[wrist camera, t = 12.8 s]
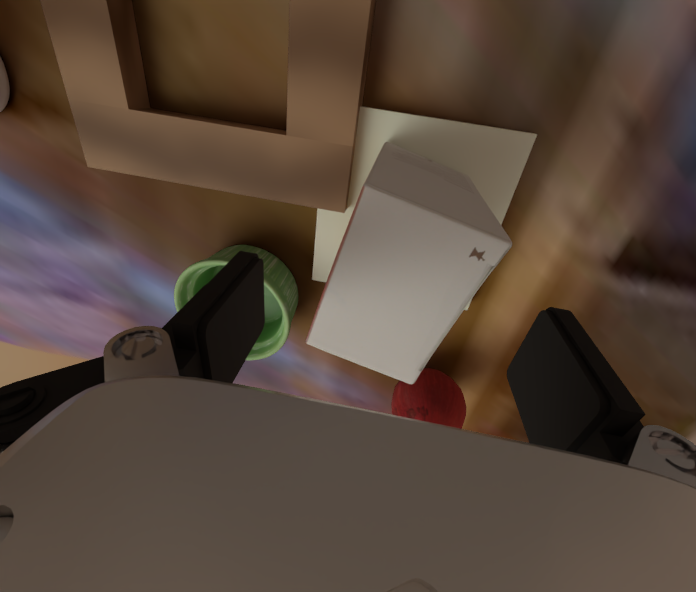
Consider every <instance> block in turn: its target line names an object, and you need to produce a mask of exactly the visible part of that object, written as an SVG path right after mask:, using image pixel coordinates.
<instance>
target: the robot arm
mask: <svg viewBox="0 0 696 592" xmlns="http://www.w3.org/2000/svg"><path fill="white" fill-rule="evenodd" d="M264 323H265V306H264V264H263V259H260V258H259V257H258V254H256V253H251V252H245V251H239V252H238V253H237V254H236V255H235V256H234V257H233V258H232V259H231V260H230V261H229V262H228V263H227V264H226V265H225V266H224V267H223V268H222V269H221V270H220V271H219V272H218V273H217V274H216V275H215V276H214V277H213V278H212V279H211V280H210V281H209V282H208V283H207V284H206V285H204V286H203V287H202V288H201V289H200V290H199V291H198V292H197V293H196V294H195V295H194V296H193V297H192V298H191V299H190V300H189V301H188V302H187V303H186V304H185V305H184V306H183V307H182V308H181V309H180V310H179V311H178V312H177V313H176V315H175V316H174V317H173V318H172V319H171V320H170V321H169V322H168V323H167V324H166V325H165V326H164V327H163V328H158V327H155V326H141V327H134V328H131V329H128V330H125V331H123V332H121V333H119V334H117V335H116V336H114V337H113V338H112V339H110V340H109V342H108V343H107V344H106V346H105V348H104V356H102V357H99V358H96V359H92V360H89V361H85V362H82V363H79V364H75V365H72V366H68V367H65V368H62V369H58V370H55V371H51V372H48V373H45V374H41V375H38V376H34V377H31V378H28V379H24V380H21V381H17V382H14V383H12V384H9V385H6V386H3V387H1V388H0V592H696V445H694V444H693V443H692V442H690V441H689V440H687V439H686V438H684V437H683V436H682V435H680V434H678V433H676V432H674V431H672V430H670V429H667V428H664V427H661V426H655V425H648V426H643V425H642V423H641V422H640V421H639V420H640V419H641V418H642V417H643V416H644V415H645V413H644V412H643V410H642V409H641V407H640V406H639V405H638V403H637V402H636V401H635V399H634V398H633V396H632V395H631V394H630V392H629V391H628V390H627V388H626V387H625V385H624V384H623V383H622V381H621V380H620V378H619V377H618V376H617V374H616V373H615V372H614V370H613V369H612V367H611V366H610V365H609V363H608V362H607V361H606V359H605V358H604V356H603V355H602V354H601V352H600V351H599V349H598V348H597V347H596V345H595V344H594V343H593V341H592V340H591V338H590V337H589V336H588V334H587V333H586V331H585V330H584V329H583V327H582V326H581V325H580V323H579V322H578V320H577V319H576V318H575V316H574V315H573V314H572V312H571V311H569V310H564V309H558V308H553V307H550V308H548V309H546V310H543V311H541V312H540V313H539V314H538V316H537V318H536V320H535V321H534V323H533V325H532V327H531V328H530V330H529V332H528V334H527V335H526V337H525V339H524V341H523V343H522V344H521V346H520V348H519V350H518V351H517V353H516V355H515V357H514V358H513V360H512V362H511V364H510V365H509V367H508V370H507V379H508V382H509V384H510V387H511V390H512V393H513V396H514V399H515V402H516V405H517V408H518V410H519V413H520V416H521V419H522V422H523V425H524V428H525V431H526V434H527V436H528V439H529V442H530V443H526V442H522V441H517V440H512V439H507V438H503V437H498V436H493V435H488V434H483V433H479V432H474V431H469V430H464V429H460V428H455V427H450V426H445V425H440V424H435V423H430V422H425V421H421V420H416V419H411V418H406V417H401V416H396V415H391V414H386V413H381V412H376V411H371V410H366V409H362V408H357V407H352V406H346V405H341V404H336V403H331V402H326V401H321V400H316V399H311V398H306V397H301V396H296V395H291V394H286V393H281V392H276V391H271V390H265V389H260V388H255V387H250V386H245V385H239V384H233V381H234V379H235V377H236V376H237V374H238V372H239V370H240V369H241V367H242V365H243V363H244V362H245V360H246V358H247V356H248V355H249V353H250V351H251V349H252V348H253V346H254V344H255V343H256V341H257V339H258V337H259V336H260V334H261V332H262V330H263V328H264Z"/></svg>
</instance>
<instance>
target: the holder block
mask: <svg viewBox="0 0 696 592" xmlns="http://www.w3.org/2000/svg"><path fill="white" fill-rule="evenodd" d="M40 2H41V6H42V9H43V13H44V16H45V20H46V23H47V27H48V30H49V33H50V37H51V40H52V44H53V47H54V51H55V54H56V58H57V61H58V65H59V68H60V72H61V75H62V79H63V82H64V86H65V89H66V93H67V96H68V100H69V103H70V107H71V110H72V114H73V117H74V121H75V124H76V128H77V131H78V135H79V138H80V142H81V145H82V149H83V152H84V156H85V159H86V163H87V166H88V167H92V168H97V169H103V170H108V171H114V172H119V173H125V174H131V175H136V176H142V177H147V178H153V179H158V180H164V181H169V182H175V183H180V184H186V185H191V186H197V187H202V188H208V189H213V190H219V191H225V192H230V193H236V194H241V195H247V196H252V197H258V198H263V199H269V200H274V201H280V202H285V203H291V204H296V205H302V206H308V207H313V208H319V209H324V210H330V211H335V212H341V213H345V211H346V209H347V204H348V197H349V189H350V181H351V173H352V165H353V158H354V150H355V142H356V134H357V127H358V119H359V111H360V107H361V106H362V104H363V97H364V89H365V82H366V74H367V66H368V59H369V51H370V44H371V36H372V28H373V21H374V13H375V6H376V0H290V5H289V47H288V88H287V130H280V129H274V128H268V127H262V126H256V125H250V124H244V123H237V122H231V121H225V120H219V119H213V118H207V117H201V116H195V115H189V114H183V113H177V112H171V111H165V110H159V109H153V108H150V103H149V97H148V91H147V86H146V80H145V74H144V68H143V62H142V57H141V51H140V45H139V39H138V33H137V28H136V22H135V16H134V10H133V4H132V0H40Z"/></svg>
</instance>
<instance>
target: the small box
mask: <svg viewBox="0 0 696 592" xmlns="http://www.w3.org/2000/svg"><path fill="white" fill-rule="evenodd" d="M511 246H512V242H511V240H510V238H509V236H508V235H507V233H506V232H505V230H504V229H503V227H502V226H501V224H500V223H499V221H498V220H497V218H496V217H495V215H494V214H493V212H492V211H491V210H490V208H489V207H488V205H487V203H486V202H485V201H484V199H483V198H482V196H481V195H480V193H479V191H478V190H477V188H476V187H475V185H474V184H473V182H472V181H471V179H470V177H469V176H467V175H465V174H462V173H460V172H457V171H455V170H453V169H450V168H448V167H446V166H443V165H441V164H439V163H436V162H434V161H432V160H429V159H427V158H425V157H422V156H420V155H418V154H415V153H413V152H410V151H408V150H406V149H403V148H401V147H399V146H396V145H394V144H391V143H389V142H385V143H384V145H383V147H382V149H381V151H380V153H379V155H378V157H377V159H376V161H375V163H374V165H373V167H372V169H371V171H370V173H369V175H368V177H367V179H366V181H365V183H364V184H363V187H362V189H361V192H360V195H359V197H358V200H357V202H356V205H355V208H354V210H353V213H352V216H351V218H350V221H349V223H348V226H347V229H346V231H345V234H344V236H343V239H342V241H341V244H340V247H339V249H338V252H337V254H336V257H335V260H334V263H333V265H332V268H331V271H330V273H329V276H328V279H327V282H326V284H325V287H324V290H323V293H322V296H321V298H320V301H319V304H318V307H317V310H316V313H315V316H314V318H313V321H312V324H311V327H310V330H309V333H308V335H307V338H306V341H305V342H306V343H307V344H309V345H311V346H314V347H316V348H318V349H321V350H323V351H326V352H328V353H331V354H333V355H336V356H339V357H341V358H344V359H346V360H349V361H351V362H354V363H356V364H359V365H362V366H364V367H367V368H369V369H372V370H374V371H377V372H380V373H382V374H385V375H387V376H390V377H393V378H395V379H398V380H400V381H403V382H405V383H408V384H414V383H415V382H416V380H417V378H418V377H419V375H420V373H421V372H422V370H423V368H424V367H425V365H426V364H427V362H428V361H429V359H430V358H431V356H432V355H433V353H434V352H435V350H436V349H437V348H438V346H439V345H440V343H441V342H442V340H443V339H444V337H445V336H446V335H447V333H448V332H449V330H450V329H451V327H452V326H453V324H454V323H455V322H456V320H457V319H458V317H459V316H460V314H461V313H462V312H463V310H464V309H465V307H466V306H467V305H468V303H469V302H470V300H471V299H472V298H473V296H474V295H475V293H476V292H477V291H478V289H479V288H480V286H481V285H482V284H483V282H484V281H485V280H486V278H487V277H488V276H489V274H490V273H491V272H492V270H493V269H494V268H495V267H496V266H497V265H498V263H499V262H500V261H501V259H502V258H503V257H504V255H505V254H506V253H507V252H508V250H509V249H510V248H511Z"/></svg>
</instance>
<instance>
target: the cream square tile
mask: <svg viewBox="0 0 696 592" xmlns="http://www.w3.org/2000/svg"><path fill="white" fill-rule="evenodd" d="M536 137H537V134H534V133H530V132H524V131H518V130H511V129H505V128H499V127H492V126H486V125H479V124H473V123H467V122H460V121H454V120H448V119H441V118H435V117H429V116H422V115H416V114H409V113H403V112H397V111H390V110H384V109H378V108H371V107H365V106H361V107H360V111H359V119H358V127H357V134H356V142H355V150H354V158H353V165H352V173H351V181H350V189H349V197H348V204H347V209H346V211H345V213H341V212H335V211H330V210H324V209H319V208H318V210H317V223H316V236H315V248H314V261H313V273H312V280H316V281H321V282H327V279H328V276H329V273H330V271H331V268H332V265H333V263H334V260H335V257H336V254H337V252H338V249H339V247H340V244H341V241H342V239H343V236H344V234H345V231H346V229H347V226H348V223H349V221H350V218H351V216H352V213H353V210H354V208H355V205H356V202H357V200H358V197H359V195H360V192H361V189H362V187H363V184H364V183H365V181H366V179H367V177H368V175H369V173H370V171H371V169H372V167H373V165H374V163H375V161H376V159H377V157H378V155H379V153H380V151H381V149H382V147H383V145H384V143H385V142H389V143H391V144H394V145H396V146H399V147H401V148H403V149H406V150H408V151H410V152H413V153H415V154H418V155H420V156H422V157H425V158H427V159H429V160H432V161H434V162H436V163H439V164H441V165H443V166H446V167H448V168H450V169H453V170H455V171H457V172H460V173H462V174H465V175H467V176H469V177H470V179H471V181H472V182H473V184H474V185H475V187H476V188H477V190H478V191H479V193H480V195H481V196H482V198H483V199H484V201H485V202H486V203H487V205H488V207H489V208H490V210H491V211H492V212H493V214H494V215H495V217H496V218H497V220H498V221H499V223H500V224H502V222H503V219H504V217H505V214H506V212H507V209H508V207H509V204H510V202H511V199H512V197H513V194H514V192H515V189H516V187H517V184H518V182H519V179H520V177H521V174H522V172H523V169H524V167H525V164H526V162H527V159H528V157H529V154H530V152H531V149H532V147H533V144H534V142H535V139H536ZM471 300H472V299H471ZM471 300H470V302H471ZM470 302H469V303H468V305H467V306H466V307H465V309H464V310H468V307H469V305H470Z"/></svg>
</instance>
